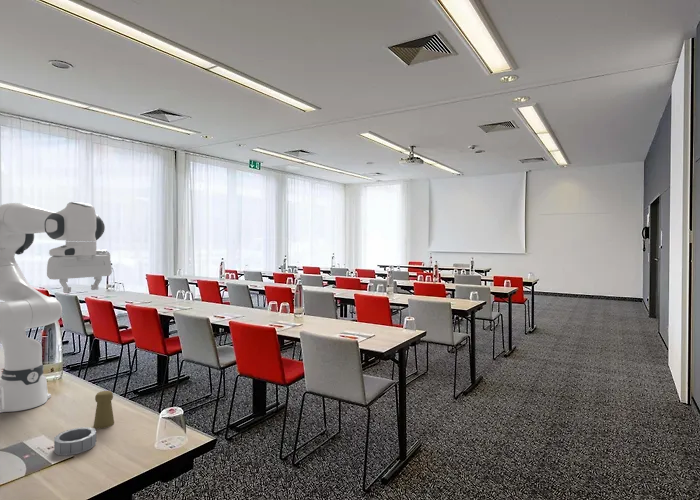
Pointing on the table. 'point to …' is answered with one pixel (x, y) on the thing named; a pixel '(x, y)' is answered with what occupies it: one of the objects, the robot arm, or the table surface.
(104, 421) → the cork
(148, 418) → the table surface
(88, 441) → the faceted grey ring
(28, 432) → the table surface
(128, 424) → the table surface
